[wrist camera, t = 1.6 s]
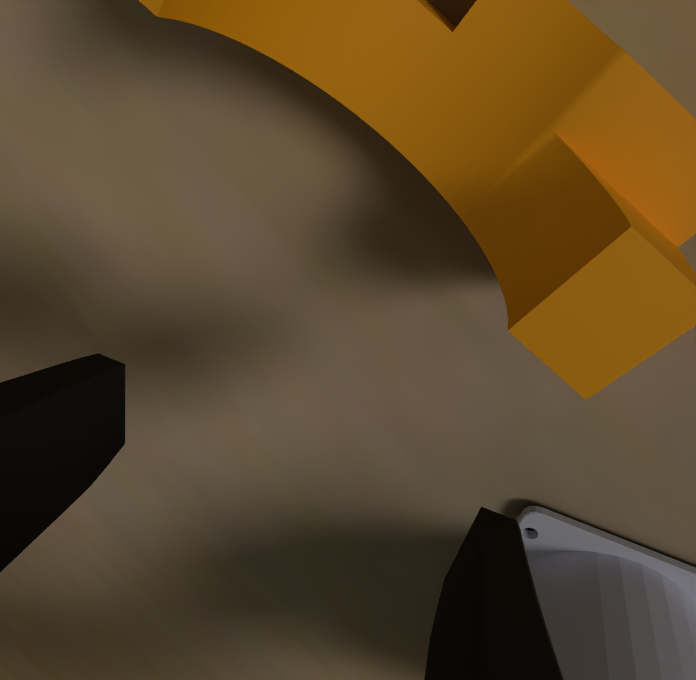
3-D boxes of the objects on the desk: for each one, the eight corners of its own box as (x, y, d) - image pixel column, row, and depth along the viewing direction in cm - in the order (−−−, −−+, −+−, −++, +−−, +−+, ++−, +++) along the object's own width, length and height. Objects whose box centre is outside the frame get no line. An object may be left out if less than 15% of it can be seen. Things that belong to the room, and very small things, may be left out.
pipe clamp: (715, 155, 13) (838, 227, 8) (571, 277, 15) (585, 399, 10) (339, -207, 12) (172, -417, 7) (246, -20, 14) (66, -64, 9)
